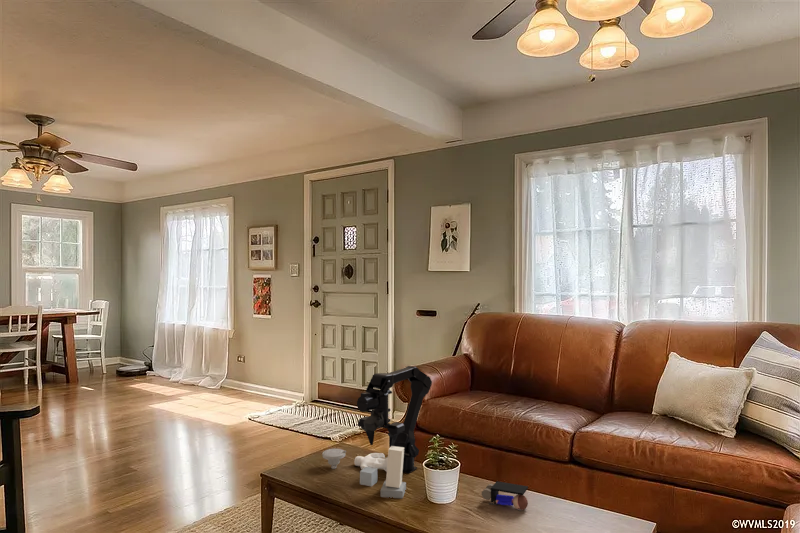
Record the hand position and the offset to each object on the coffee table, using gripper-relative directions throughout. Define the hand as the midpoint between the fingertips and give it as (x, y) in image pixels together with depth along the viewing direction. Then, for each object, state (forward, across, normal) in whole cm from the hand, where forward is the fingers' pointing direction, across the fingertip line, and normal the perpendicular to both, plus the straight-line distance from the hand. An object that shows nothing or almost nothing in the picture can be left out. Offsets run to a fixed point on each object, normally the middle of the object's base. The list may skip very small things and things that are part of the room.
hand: (381, 447), depth 193 cm
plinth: (+14, +10, -6) cm, 18 cm away
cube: (+13, -3, -4) cm, 14 cm away
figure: (+13, -9, +9) cm, 18 cm away
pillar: (+10, +10, -6) cm, 15 cm away
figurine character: (+13, +48, +7) cm, 50 cm away
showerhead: (+13, -24, 0) cm, 27 cm away
